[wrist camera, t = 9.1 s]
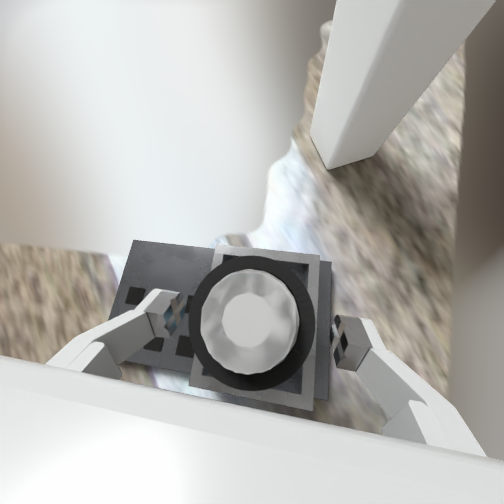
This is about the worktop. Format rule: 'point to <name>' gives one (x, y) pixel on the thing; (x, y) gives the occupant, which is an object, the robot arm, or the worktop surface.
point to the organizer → (187, 281)
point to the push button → (251, 323)
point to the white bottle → (382, 68)
